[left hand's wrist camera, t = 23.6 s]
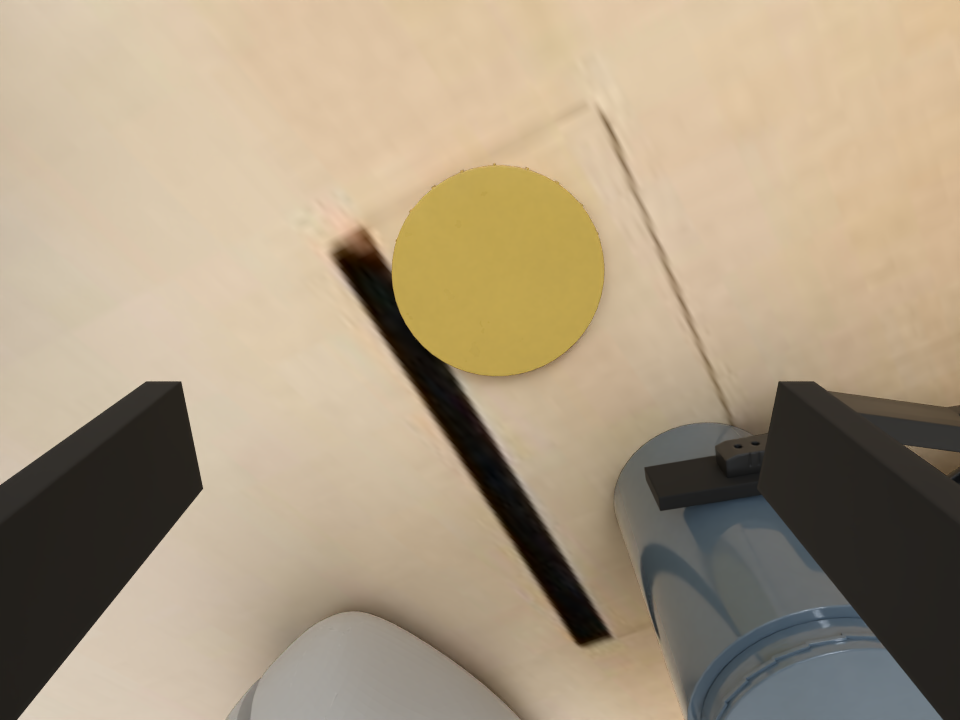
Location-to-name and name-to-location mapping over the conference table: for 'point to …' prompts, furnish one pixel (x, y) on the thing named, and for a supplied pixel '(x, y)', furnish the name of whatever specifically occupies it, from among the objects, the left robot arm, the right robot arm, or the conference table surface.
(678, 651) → the jar
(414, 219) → the lid
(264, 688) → the projector
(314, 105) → the conference table surface
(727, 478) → the right robot arm
